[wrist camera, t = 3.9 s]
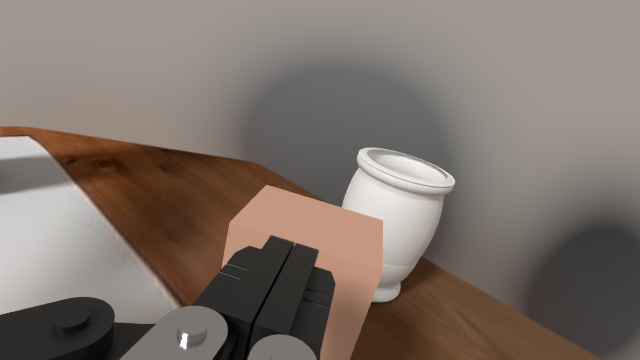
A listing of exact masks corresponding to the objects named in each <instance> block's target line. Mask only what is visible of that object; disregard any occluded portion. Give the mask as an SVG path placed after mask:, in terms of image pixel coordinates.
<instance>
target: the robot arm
mask: <svg viewBox="0 0 640 360" xmlns="http://www.w3.org/2000/svg"><path fill="white" fill-rule="evenodd" d="M294 245H295V246H294ZM318 253H319V250H318V249H315V248H312V247H309V246H305V245H302V244H299V243H296V244H295V242H292V241H289V240H286V239H283V238H280V237H277V236H273V235H271V236H270V237H269V239H268V240H267V242H266V243H265V245H264V246H263V247H262V249H259V248H256V247H253V246H247V247H245V248H243V249H241V250H239V251H237V252H235V253H234V254H233V256H232V257H231V258H230V259H229V261H228V262H227V264H225V265H224V267H223V268H222V269H221V270H220V273H218V274H217V275H216V276H215V278H214V279H213V280H212V281H211V283H210V284H209V285H208V286H207V287H206V289H205V290H204V291H203V292H202V294H201V295H200V296H199V297H198V298H197V300H196V301H195V302H194V303H193V305H192V306H187V307H182V308H179V309H176V310H174V311H171V312H170V313H168V314H167V315H165V316H164V317H163V318H162V319H161V320H160V321H159V322H158V323H157V324H132V323H116V322H114V318H115V314H114V310H113V309H112V307H111V306H110V305H109V304H108V303H106V302H105V301H103V300H100V299H96V298H91V297H76V298H69V299H64V300H60V301H56V302H52V303H48V304H44V305H39V306H35V307H31V308H27V309H23V310H19V311H14V312H10V313H6V314H2V315H0V360H320V352H321V348H322V343H323V339H324V334H325V330H326V326H327V321H328V317H329V312H330V308H331V303H332V299H333V295H334V290H335V286H336V283H335V280H334V278H333V275H332V272H331V271H328V270H325V269H322V268H319V267H316V266H315V264H316V260H317V257H318Z"/></svg>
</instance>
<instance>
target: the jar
mask: <svg viewBox="0 0 640 360" xmlns="http://www.w3.org/2000/svg"><path fill="white" fill-rule="evenodd" d="M357 162H358V164H359V166H360V167H359V169H358V170H357V171H356V173H355V175H354V176H353V178H352V181H351V183H350V185H349V187H348V189H347V192H346V195H345V198H344V201H343V205H342V208H344V209H347V210H351V211H354V212H357V213H361V214H364V215H367V216H370V217H374V218H377V219H380V220H383V272H382V275H381V277H380V280H379V283H378V285H377V288H376V291H375V293H374V296H373V299H372V301H371V302H388V301H391V300H393V299H395V298H396V297H397V296H398V294H399V292H400V288H401V285H400V282H401V281H402V280H404V279H405V278H406V277H407V276H408V275H409V274H410V272H411V271H412V270H413V268H414V267H415V265H416V264H417V262H418V260H419V259H420V257H421V256H422V255H423V253H424V252H425V250H426V248H427V247H428V245H429V243H430V241H431V239H432V238H433V235H434V233H435V230H436V228H437V225H438V222H439V219H440V215H441V211H442V207H443V196H444V194H447V193H449V192H450V191H451V190H452V189H453V186H454V183H455V180H454V178H453V177H452V176H451V175H450V174H449V173H447V172H446V171H444V170H443V169H441V168H439V167H437V166H435V165H433V164H431V163H429V162H426V161H424V160H422V159H419V158H416V157H414V156H410V155H407V154H404V153H400V152H396V151H392V150H387V149H380V148H364V149H361V150H359V154H358V156H357Z"/></svg>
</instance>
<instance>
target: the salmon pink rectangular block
mask: <svg viewBox="0 0 640 360" xmlns="http://www.w3.org/2000/svg"><path fill="white" fill-rule="evenodd" d="M271 235H273V236H277V237H280V238H283V239H286V240H289V241H292V242H295V244H296V243H299V244H302V245H305V246H309V247H312V248H315V249H318V250H319V253H318V257H317V260H316V264H315V266H316V267H319V268H322V269H325V270H328V271H331V272H332V275H333V278H334V280H335V283H336V286H335V290H334V295H333V299H332V303H331V308H330V312H329V317H328V321H327V326H326V330H325V334H324V339H323V343H322V348H321V352H320V360H350V357H351V355H352V352H353V349H354V347H355V344H356V341H357V339H358V336H359V333H360V331H361V328H362V325H363V323H364V320H365V317H366V315H367V312H368V309H369V307H370V304H371V301H372V299H373V296H374V293H375V291H376V288H377V285H378V283H379V280H380V277H381V275H382V272H383V220H380V219H377V218H374V217H370V216H367V215H364V214H361V213H357V212H354V211H351V210H347V209H344V208H341V207H338V206H334V205H331V204H328V203H325V202H321V201H318V200H315V199H311V198H308V197H305V196H302V195H298V194H295V193H292V192H289V191H285V190H282V189H279V188H275V187H272V186H269V185H266V186H265V187H264V188H263V189H262V190H261V191H260V192H259V193H258V194H257V195H256V196H255V197H254V198H253V199H252V200H251V201H250V202H249V203H248V204H247V205H246V206H245V207H244V208H243V209H242V210H241V211H240V212H239V213H238V214H237V215H236V216H235V217H234V219H233V220H232V221H231V222H230V224H229V229H228V235H227V241H226V247H225V252H224V258H223V264H222V268H223V267H224V265H225V264H227V262H228V261H229V259H230V258H231V257H232V256H233V254H234V253H235V252H237V251H239V250H241V249H243V248H245V247H247V246H253V247H256V248H259V249H262V247H263V246H264V245H265V243H266V242H267V240H268V239H269V237H270V236H271ZM294 246H295V245H294Z"/></svg>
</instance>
